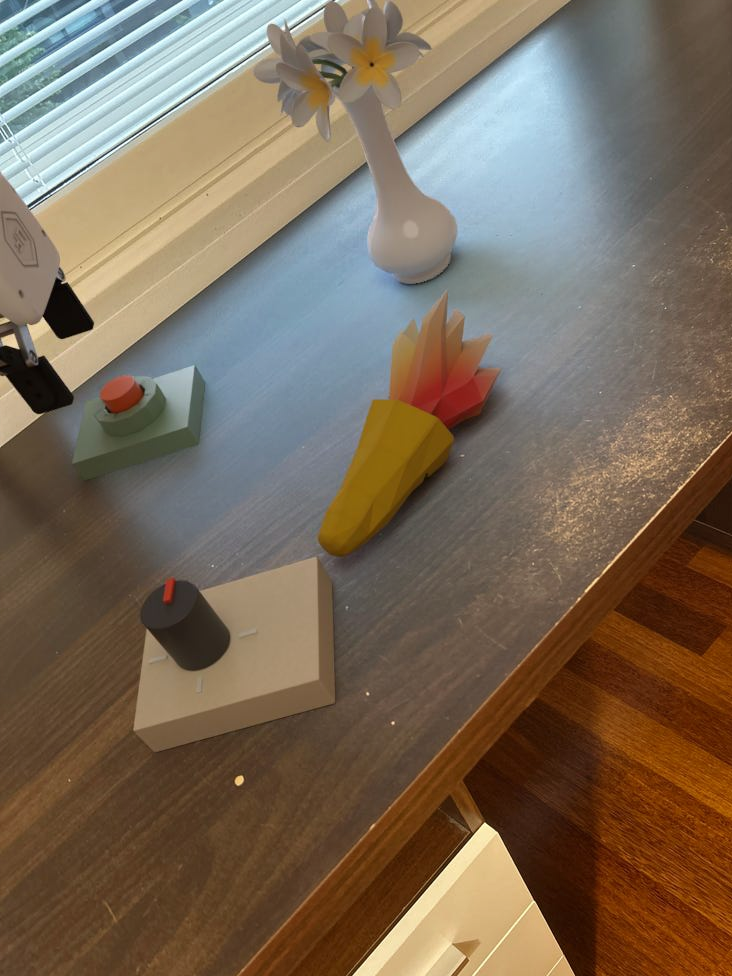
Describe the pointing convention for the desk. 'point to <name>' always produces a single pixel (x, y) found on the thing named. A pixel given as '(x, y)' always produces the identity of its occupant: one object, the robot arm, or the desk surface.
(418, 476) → the torch
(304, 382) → the desk surface
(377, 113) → the flower vase
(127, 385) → the button
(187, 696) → the panel
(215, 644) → the knob
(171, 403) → the button box
